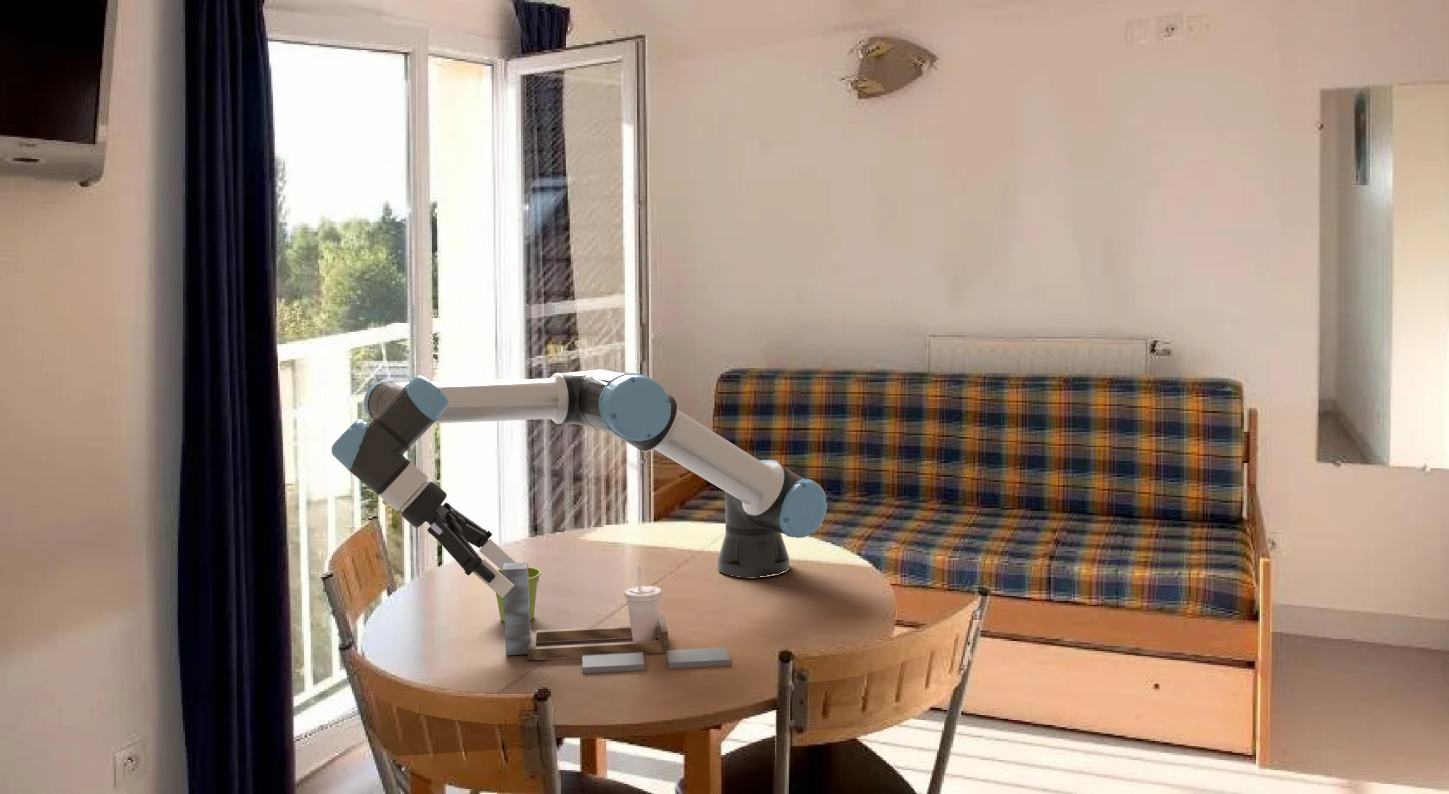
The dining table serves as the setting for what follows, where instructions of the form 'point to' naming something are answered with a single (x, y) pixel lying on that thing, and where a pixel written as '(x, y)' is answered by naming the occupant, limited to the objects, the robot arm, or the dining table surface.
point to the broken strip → (636, 660)
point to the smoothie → (643, 610)
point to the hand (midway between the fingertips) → (510, 580)
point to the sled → (526, 640)
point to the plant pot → (533, 580)
